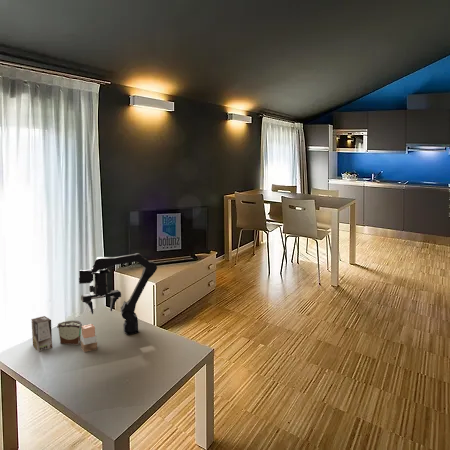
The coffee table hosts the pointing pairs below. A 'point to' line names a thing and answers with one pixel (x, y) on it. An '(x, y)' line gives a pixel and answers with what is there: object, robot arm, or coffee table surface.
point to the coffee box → (41, 333)
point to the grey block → (89, 340)
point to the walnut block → (88, 346)
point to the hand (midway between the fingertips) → (101, 312)
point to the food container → (70, 332)
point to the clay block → (88, 331)
